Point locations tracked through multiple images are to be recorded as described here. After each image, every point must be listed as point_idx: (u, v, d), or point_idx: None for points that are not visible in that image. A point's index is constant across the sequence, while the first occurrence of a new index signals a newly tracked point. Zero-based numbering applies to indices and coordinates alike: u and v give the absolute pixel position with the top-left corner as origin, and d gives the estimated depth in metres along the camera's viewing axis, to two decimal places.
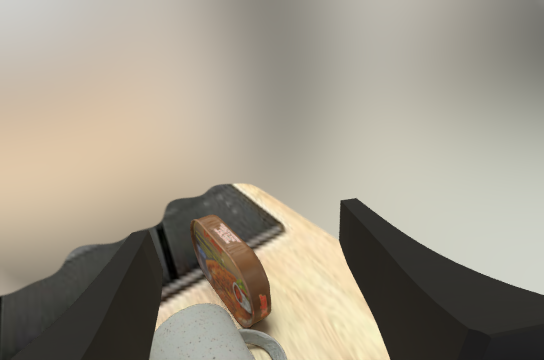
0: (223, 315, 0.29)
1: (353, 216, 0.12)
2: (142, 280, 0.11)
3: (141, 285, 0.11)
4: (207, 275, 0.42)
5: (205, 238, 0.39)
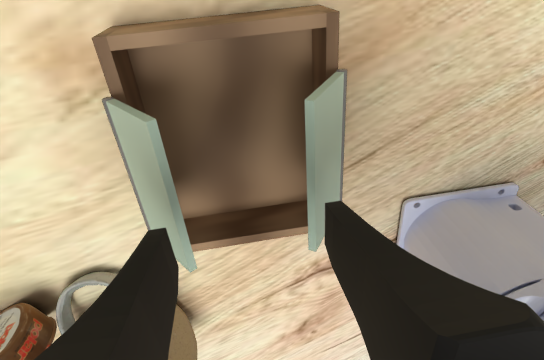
0: None
1: (336, 219, 0.11)
2: (161, 277, 0.11)
3: (160, 281, 0.11)
4: None
5: None
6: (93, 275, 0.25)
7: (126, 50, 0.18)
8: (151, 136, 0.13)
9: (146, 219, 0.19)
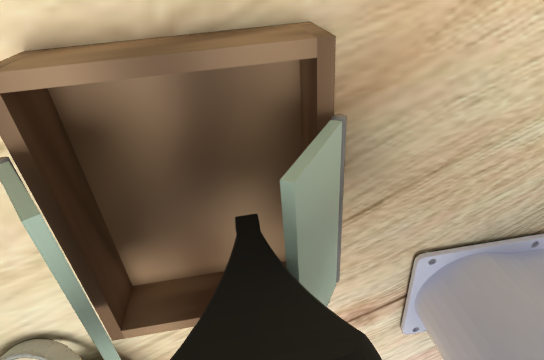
0: None
1: (237, 235, 0.11)
2: None
3: None
4: None
5: None
6: (28, 345, 0.20)
7: None
8: (35, 239, 0.08)
9: None
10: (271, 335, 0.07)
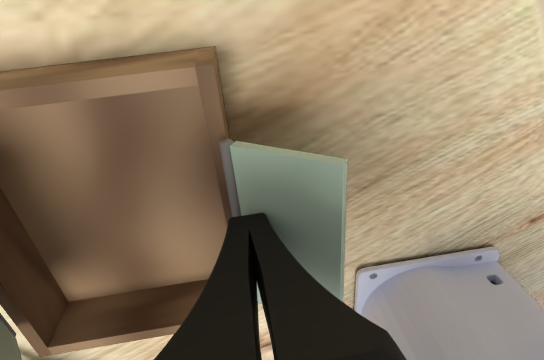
0: None
1: (250, 232, 0.11)
2: (251, 262, 0.11)
3: (251, 266, 0.11)
4: None
5: None
6: None
7: None
8: None
9: None
10: (252, 338, 0.07)
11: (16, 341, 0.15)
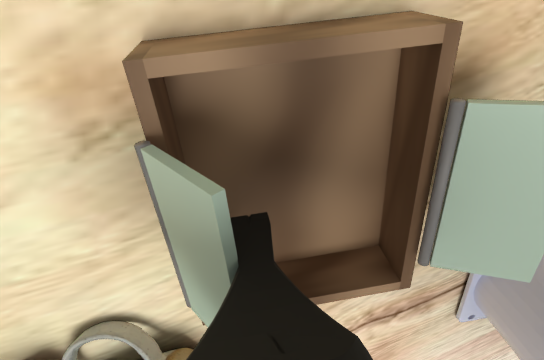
0: None
1: None
2: None
3: None
4: None
5: None
6: (105, 326, 0.20)
7: None
8: (216, 214, 0.09)
9: (185, 290, 0.15)
10: (289, 332, 0.07)
11: None
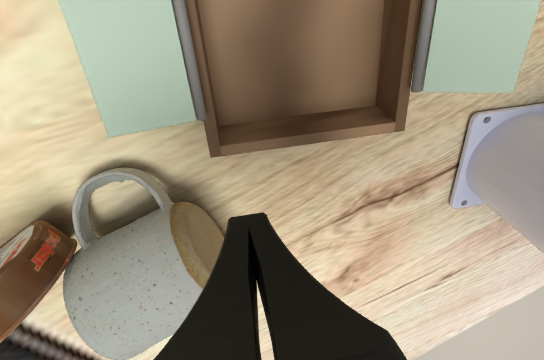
0: (86, 293, 0.19)
1: (250, 232, 0.11)
2: (251, 262, 0.11)
3: (251, 266, 0.11)
4: None
5: None
6: (116, 168, 0.21)
7: None
8: None
9: (192, 94, 0.16)
10: (252, 338, 0.07)
11: (192, 121, 0.16)
